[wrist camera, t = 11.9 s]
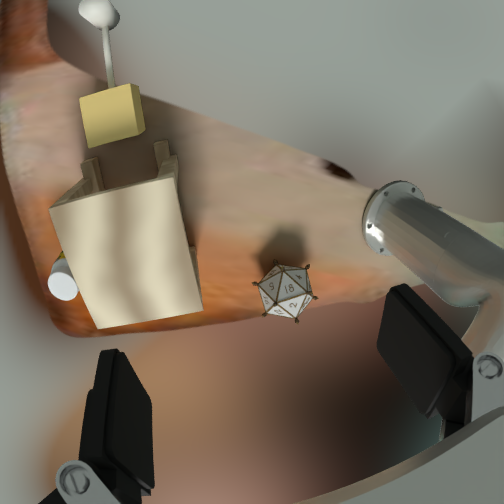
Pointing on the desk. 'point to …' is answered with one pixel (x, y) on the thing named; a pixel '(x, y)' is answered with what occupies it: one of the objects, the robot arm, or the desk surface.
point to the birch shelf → (129, 245)
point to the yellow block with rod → (115, 98)
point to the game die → (285, 291)
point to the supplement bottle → (62, 280)
